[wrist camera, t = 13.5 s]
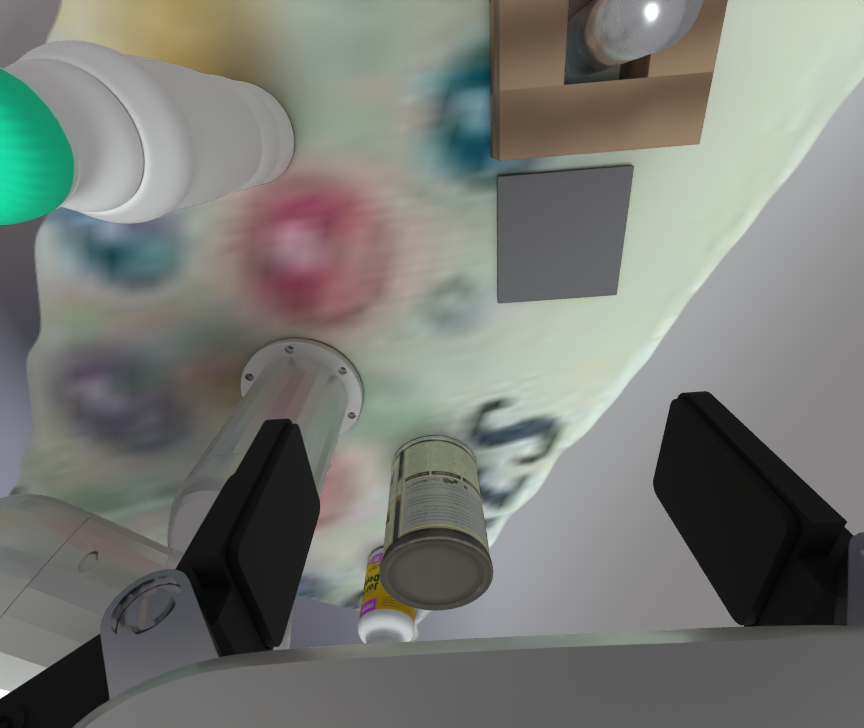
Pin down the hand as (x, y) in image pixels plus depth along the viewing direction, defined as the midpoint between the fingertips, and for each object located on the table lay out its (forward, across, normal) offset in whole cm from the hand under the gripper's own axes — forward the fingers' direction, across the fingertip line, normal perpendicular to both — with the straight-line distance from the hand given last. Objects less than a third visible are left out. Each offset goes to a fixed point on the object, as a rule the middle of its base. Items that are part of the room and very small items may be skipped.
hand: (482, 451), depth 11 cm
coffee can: (+31, +3, +28) cm, 42 cm away
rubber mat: (+30, -10, +2) cm, 32 cm away
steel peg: (+30, -11, -12) cm, 34 cm away
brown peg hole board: (+30, -11, -12) cm, 34 cm away
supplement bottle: (+31, +10, +44) cm, 54 cm away
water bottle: (+31, +15, -8) cm, 35 cm away
